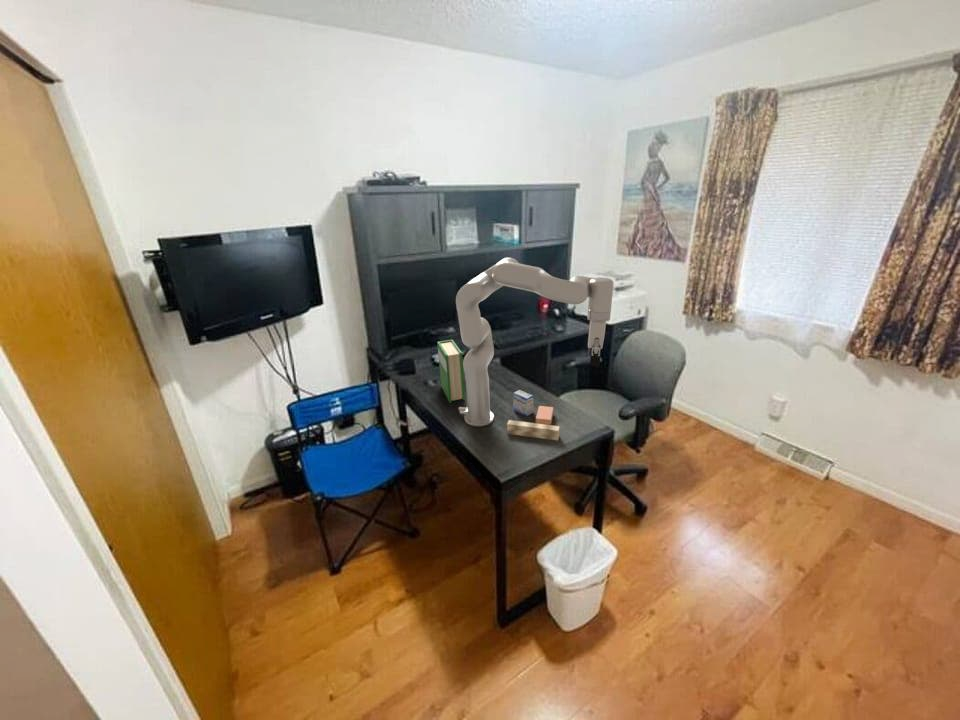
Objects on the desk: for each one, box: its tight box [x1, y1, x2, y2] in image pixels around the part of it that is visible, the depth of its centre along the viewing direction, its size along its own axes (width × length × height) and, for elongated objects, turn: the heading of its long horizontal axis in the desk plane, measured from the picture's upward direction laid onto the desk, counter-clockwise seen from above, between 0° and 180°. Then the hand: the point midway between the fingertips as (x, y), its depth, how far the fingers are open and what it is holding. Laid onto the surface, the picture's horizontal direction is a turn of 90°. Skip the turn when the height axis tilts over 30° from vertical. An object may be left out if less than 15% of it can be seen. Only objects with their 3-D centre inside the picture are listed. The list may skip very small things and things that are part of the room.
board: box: [506, 419, 561, 441], centre depth 150 cm, size 20×3×4 cm, turn 73°
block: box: [535, 405, 554, 425], centre depth 159 cm, size 6×10×4 cm, turn 164°
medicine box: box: [512, 389, 534, 417], centre depth 165 cm, size 8×4×9 cm, turn 45°
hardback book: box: [436, 339, 466, 404], centre depth 180 cm, size 18×7×24 cm, turn 18°
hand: (594, 360), depth 138 cm, fingers open, 9 cm apart
